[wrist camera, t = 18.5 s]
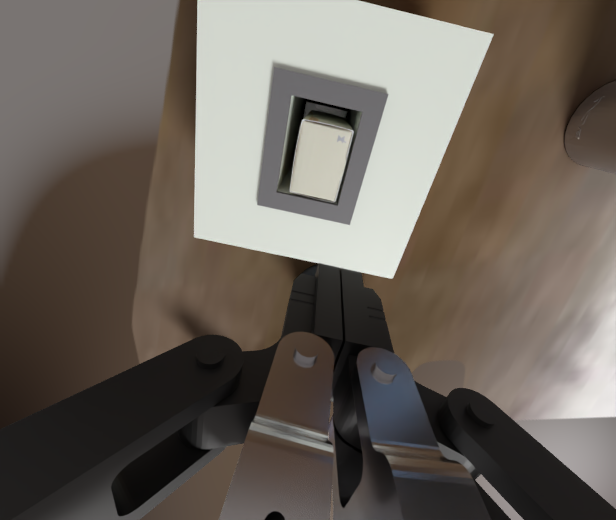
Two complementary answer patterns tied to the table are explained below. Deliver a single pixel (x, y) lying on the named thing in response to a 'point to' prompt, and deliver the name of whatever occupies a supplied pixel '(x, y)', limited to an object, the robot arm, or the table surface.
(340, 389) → the robot arm
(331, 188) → the skincare box
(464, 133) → the table surface
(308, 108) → the grey switch rocker
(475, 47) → the white block with opening
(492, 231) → the table surface
